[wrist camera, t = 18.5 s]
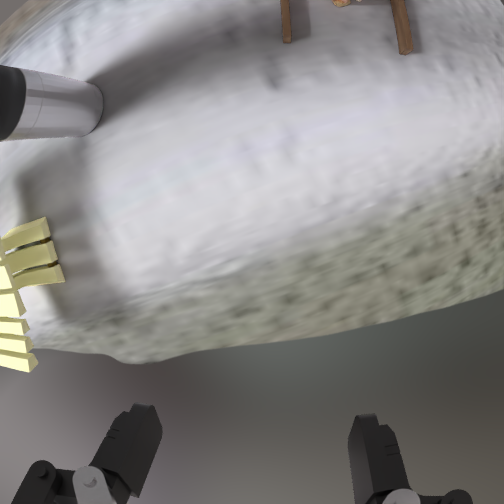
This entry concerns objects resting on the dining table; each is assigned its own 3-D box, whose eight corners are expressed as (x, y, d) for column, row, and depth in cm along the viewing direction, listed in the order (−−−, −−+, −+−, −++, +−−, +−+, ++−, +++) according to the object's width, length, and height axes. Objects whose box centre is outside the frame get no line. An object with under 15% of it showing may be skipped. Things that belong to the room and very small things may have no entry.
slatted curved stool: (-4, 194, 44) (-65, 215, 27) (36, 173, 42) (-38, 191, 25) (36, 320, 53) (-11, 362, 36) (80, 320, 51) (29, 372, 34)
